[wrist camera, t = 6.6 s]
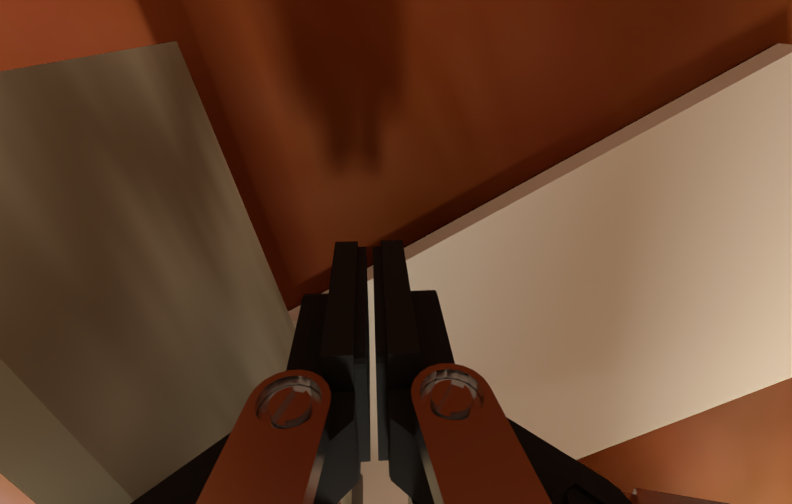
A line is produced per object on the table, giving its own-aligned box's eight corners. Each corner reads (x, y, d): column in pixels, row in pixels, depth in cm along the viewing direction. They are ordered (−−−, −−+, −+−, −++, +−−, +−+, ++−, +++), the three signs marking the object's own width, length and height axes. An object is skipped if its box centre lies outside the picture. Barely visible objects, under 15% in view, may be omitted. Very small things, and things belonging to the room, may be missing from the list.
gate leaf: (367, 486, 19) (368, 737, 12) (328, 493, 19) (309, 746, 12) (189, 38, 9) (-192, 103, 3) (113, 54, 9) (-423, 153, 3)
